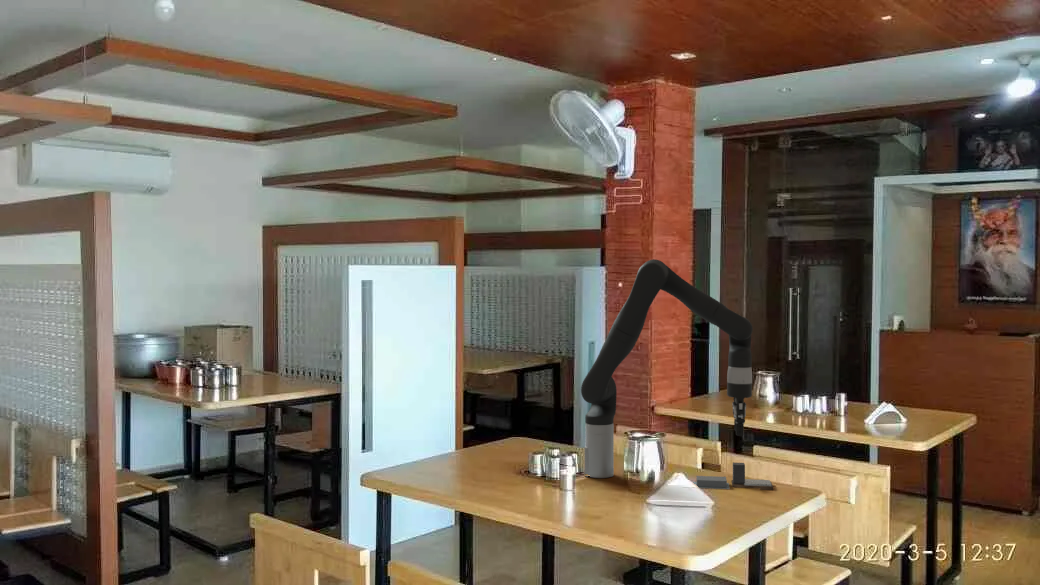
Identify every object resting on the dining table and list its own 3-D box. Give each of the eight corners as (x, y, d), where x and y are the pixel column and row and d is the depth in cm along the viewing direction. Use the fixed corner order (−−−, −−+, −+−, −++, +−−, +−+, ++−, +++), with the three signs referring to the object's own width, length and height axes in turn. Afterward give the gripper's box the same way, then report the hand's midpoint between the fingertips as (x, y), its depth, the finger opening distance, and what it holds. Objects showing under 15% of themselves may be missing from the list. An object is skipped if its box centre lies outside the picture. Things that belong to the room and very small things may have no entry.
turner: (732, 480, 280) (732, 461, 280) (769, 481, 278) (769, 462, 278) (733, 485, 274) (733, 465, 274) (771, 486, 272) (771, 466, 272)
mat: (683, 488, 274) (683, 487, 274) (683, 482, 282) (683, 481, 282) (729, 490, 271) (729, 489, 271) (728, 484, 279) (728, 483, 279)
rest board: (732, 488, 274) (732, 485, 273) (731, 483, 280) (731, 480, 280) (773, 490, 271) (773, 486, 271) (770, 484, 278) (770, 481, 278)
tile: (696, 480, 274) (726, 481, 272) (696, 475, 280) (725, 476, 278) (696, 487, 274) (726, 488, 272) (696, 482, 280) (725, 483, 278)
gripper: (754, 384, 268) (753, 438, 269) (750, 378, 283) (749, 429, 283) (728, 383, 270) (727, 437, 270) (725, 378, 284) (725, 428, 284)
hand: (738, 433), depth 277 cm, fingers open, 8 cm apart
